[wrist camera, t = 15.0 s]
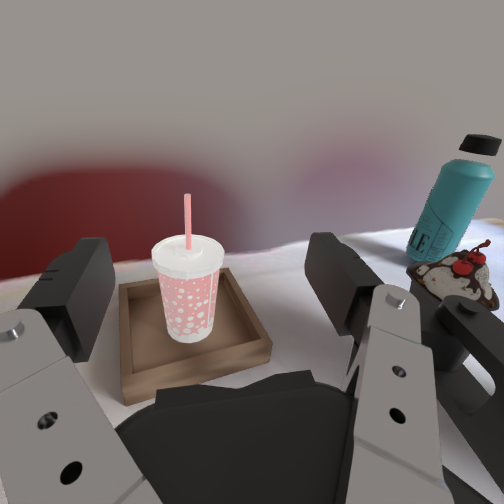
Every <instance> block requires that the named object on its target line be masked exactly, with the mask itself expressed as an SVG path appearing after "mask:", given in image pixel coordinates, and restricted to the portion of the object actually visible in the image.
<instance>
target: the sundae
mask: <svg viewBox="0 0 504 504" xmlns="http://www.w3.org/2000/svg"><path fill="white" fill-rule="evenodd" d="M490 243H491V241H490V240H489V239H487V240H486V242H485V243H482V244H480V245H479V246H478V247H475V248H473V249H472V250H471V251H470V252H469V251H468V250H465V249H464V250H462V251H461V252H455V253H451V254H448V255H446V256H445V257H444V258H442V259H441V260H439V261H437V262H432V261H419V262H416V263H414V264H412V265H410V266H409V267H408V268H407V270H406V273H407V274H408V276H409V277H410V278H411V280H412V281H411V286H410V291H409V292H410V293H411V294H412V295H414V296H415V298H416V299H417V300H418V302H419V303H424V304H430V305H436V306H440V304H441V302H442V301H443V299H444V297H446V296H448V295H459V296H464V297H467V298H469V299H472V300H474V301H476V302H478V303H480V304H481V305H483V306H484V307H485V308H487V309H488V310H489V311H495V310H498V309H499V299H498V297H497V295H496V293H495V291H494V289H493V288H492V287H490V286H491V284H490V283H488V280H489V269H488V267H487V265H486V263H485V261H486V256H485V255H484V254H483V253H481V252H479V248H482V247H488V246H489V245H490ZM482 245H483V246H482ZM475 249H477V251H476V252H474V250H475Z"/></svg>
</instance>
